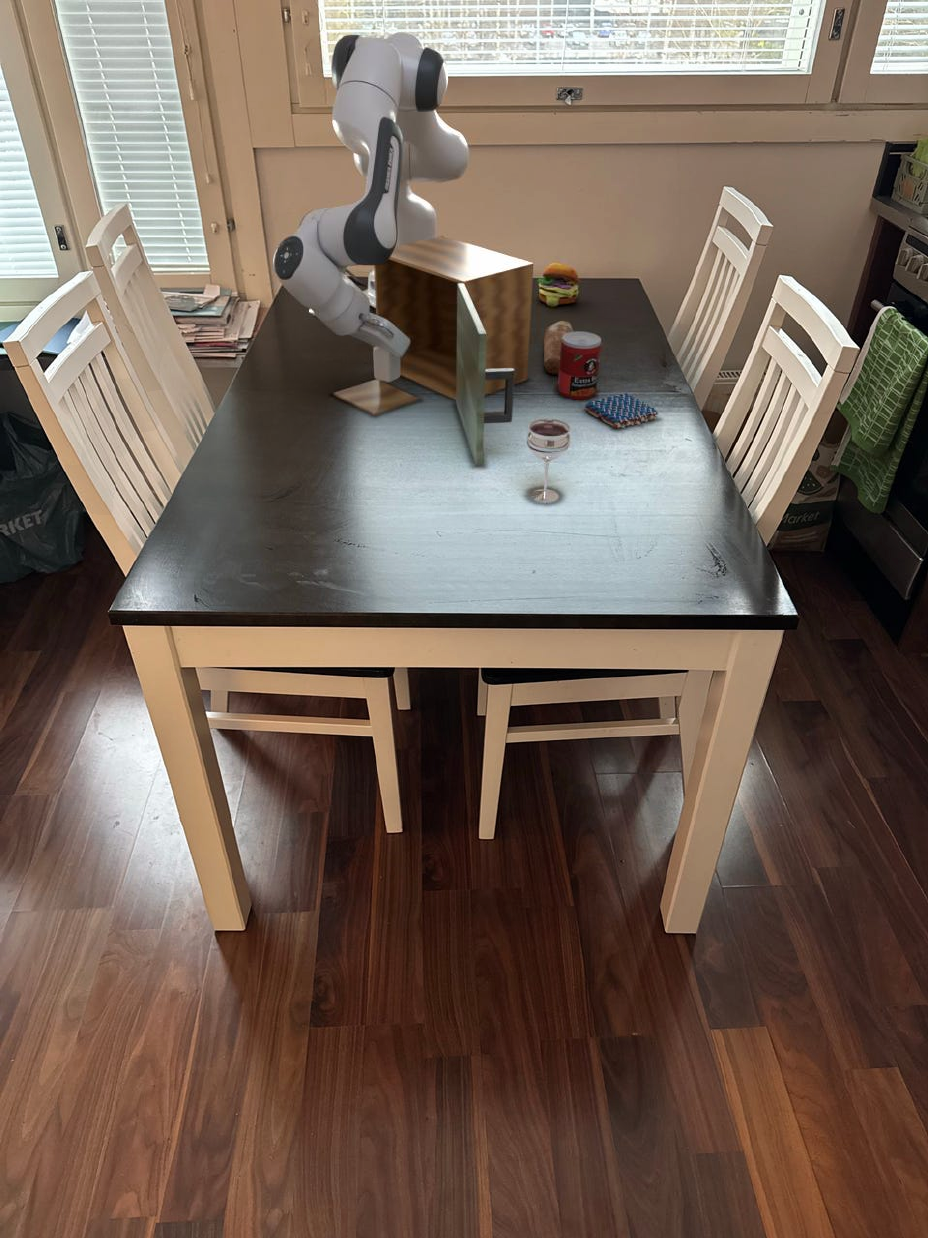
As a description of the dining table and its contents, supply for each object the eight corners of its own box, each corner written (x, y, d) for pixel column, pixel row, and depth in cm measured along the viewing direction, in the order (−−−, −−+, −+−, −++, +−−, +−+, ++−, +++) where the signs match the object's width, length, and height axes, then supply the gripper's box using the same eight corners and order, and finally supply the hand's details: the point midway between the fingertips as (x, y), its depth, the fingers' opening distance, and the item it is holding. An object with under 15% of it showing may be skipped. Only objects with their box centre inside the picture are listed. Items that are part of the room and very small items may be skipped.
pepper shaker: (401, 377, 180) (400, 329, 174) (389, 383, 177) (388, 335, 172) (385, 373, 182) (383, 325, 176) (373, 379, 179) (371, 330, 173)
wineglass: (553, 510, 145) (559, 440, 138) (516, 499, 148) (519, 430, 141) (572, 493, 150) (579, 424, 143) (536, 482, 153) (540, 414, 146)
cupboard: (462, 403, 178) (464, 281, 165) (378, 365, 194) (373, 250, 180) (527, 380, 188) (533, 263, 174) (442, 345, 204) (441, 235, 190)
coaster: (333, 395, 181) (333, 392, 180) (377, 381, 187) (377, 378, 186) (374, 416, 173) (374, 413, 173) (418, 400, 179) (418, 398, 179)
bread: (573, 345, 204) (575, 320, 201) (565, 378, 189) (567, 351, 186) (545, 343, 205) (546, 318, 202) (534, 375, 190) (536, 349, 187)
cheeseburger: (530, 304, 227) (535, 261, 223) (542, 302, 236) (547, 261, 232) (569, 309, 224) (575, 265, 220) (580, 307, 233) (586, 265, 229)
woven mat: (660, 419, 174) (662, 409, 172) (616, 431, 169) (617, 421, 168) (625, 400, 181) (626, 390, 179) (582, 411, 176) (583, 401, 175)
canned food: (571, 402, 179) (576, 347, 173) (549, 388, 185) (553, 334, 178) (604, 396, 182) (610, 341, 176) (581, 381, 188) (586, 328, 181)
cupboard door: (488, 402, 178) (492, 282, 165) (512, 464, 158) (519, 332, 144) (456, 404, 178) (457, 283, 164) (475, 466, 157) (478, 333, 143)
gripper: (390, 307, 159) (433, 350, 170) (321, 281, 171) (365, 322, 182) (371, 339, 159) (415, 379, 170) (303, 310, 171) (348, 349, 182)
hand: (388, 349), depth 177 cm, fingers closed on pepper shaker, 4 cm apart
